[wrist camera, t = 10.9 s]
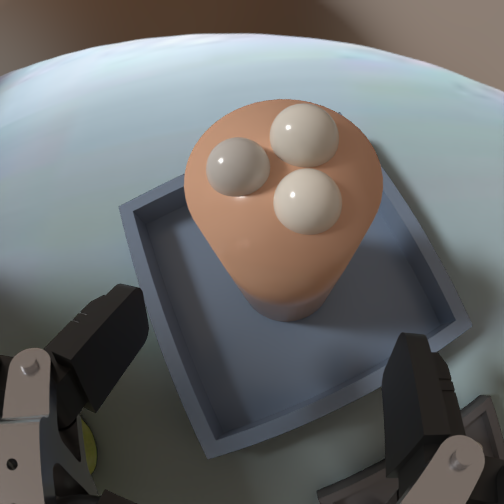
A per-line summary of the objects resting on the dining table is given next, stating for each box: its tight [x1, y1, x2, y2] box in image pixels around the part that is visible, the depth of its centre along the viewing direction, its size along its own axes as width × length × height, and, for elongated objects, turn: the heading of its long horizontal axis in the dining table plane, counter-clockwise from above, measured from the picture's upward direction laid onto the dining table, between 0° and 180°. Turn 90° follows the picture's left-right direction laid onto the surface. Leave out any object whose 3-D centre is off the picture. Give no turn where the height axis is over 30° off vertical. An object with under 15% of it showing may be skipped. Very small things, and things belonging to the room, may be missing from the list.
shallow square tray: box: [119, 112, 472, 459], centre depth 16 cm, size 15×15×2 cm
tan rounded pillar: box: [184, 99, 383, 322], centre depth 12 cm, size 5×5×11 cm
